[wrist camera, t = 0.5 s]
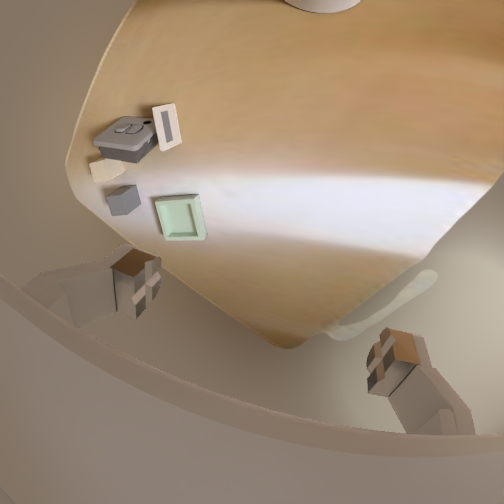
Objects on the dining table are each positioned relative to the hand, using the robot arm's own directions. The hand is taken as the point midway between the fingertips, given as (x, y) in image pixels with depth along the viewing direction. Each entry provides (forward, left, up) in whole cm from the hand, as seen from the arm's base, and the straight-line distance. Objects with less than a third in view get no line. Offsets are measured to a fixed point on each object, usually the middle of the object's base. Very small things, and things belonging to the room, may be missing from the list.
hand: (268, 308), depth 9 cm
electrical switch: (-4, -28, -36) cm, 46 cm away
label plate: (-4, -22, -36) cm, 42 cm away
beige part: (+1, -37, -36) cm, 52 cm away
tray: (+13, -24, -36) cm, 45 cm away
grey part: (+8, -35, -36) cm, 51 cm away
